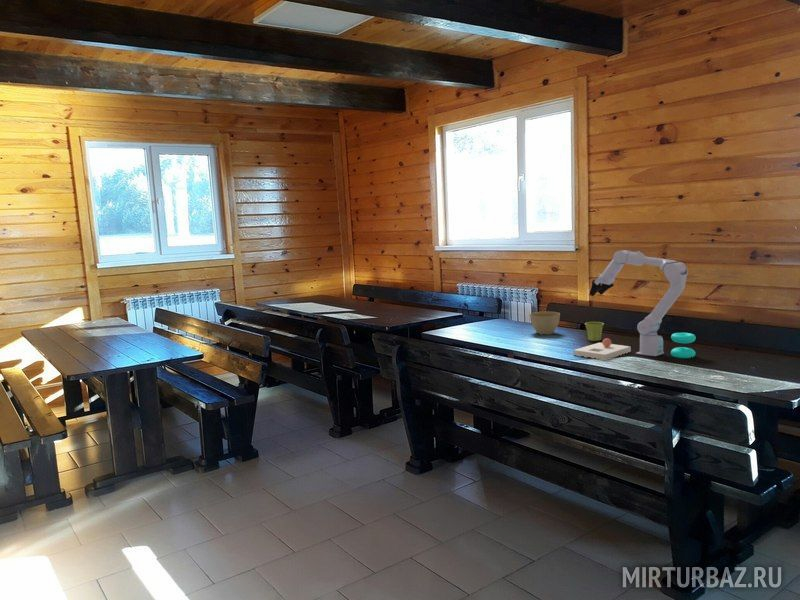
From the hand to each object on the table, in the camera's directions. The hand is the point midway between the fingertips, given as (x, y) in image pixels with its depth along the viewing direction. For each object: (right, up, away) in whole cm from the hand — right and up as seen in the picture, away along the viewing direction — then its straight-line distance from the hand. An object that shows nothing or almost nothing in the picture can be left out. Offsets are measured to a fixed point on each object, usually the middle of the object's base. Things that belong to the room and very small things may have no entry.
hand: (595, 294), depth 302 cm
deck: (-1, -27, -12) cm, 30 cm away
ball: (+2, -23, -10) cm, 25 cm away
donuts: (+31, -28, -24) cm, 48 cm away
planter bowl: (-14, -21, +44) cm, 51 cm away
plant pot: (+6, -23, +20) cm, 31 cm away
